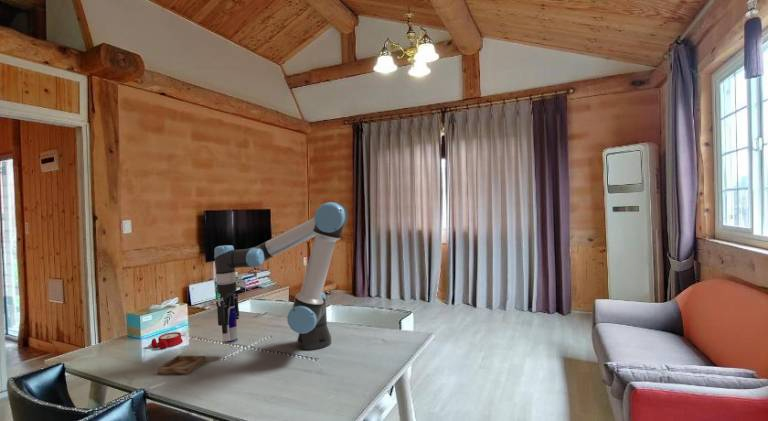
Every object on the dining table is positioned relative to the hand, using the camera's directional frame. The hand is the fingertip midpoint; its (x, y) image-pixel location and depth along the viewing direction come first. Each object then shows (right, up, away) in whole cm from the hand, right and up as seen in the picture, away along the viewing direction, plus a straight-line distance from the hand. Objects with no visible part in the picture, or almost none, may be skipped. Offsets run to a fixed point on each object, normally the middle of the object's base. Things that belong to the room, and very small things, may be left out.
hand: (230, 337), depth 159 cm
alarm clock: (-36, -10, +17) cm, 41 cm away
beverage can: (0, -2, 0) cm, 2 cm away
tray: (-15, -9, -9) cm, 20 cm away
